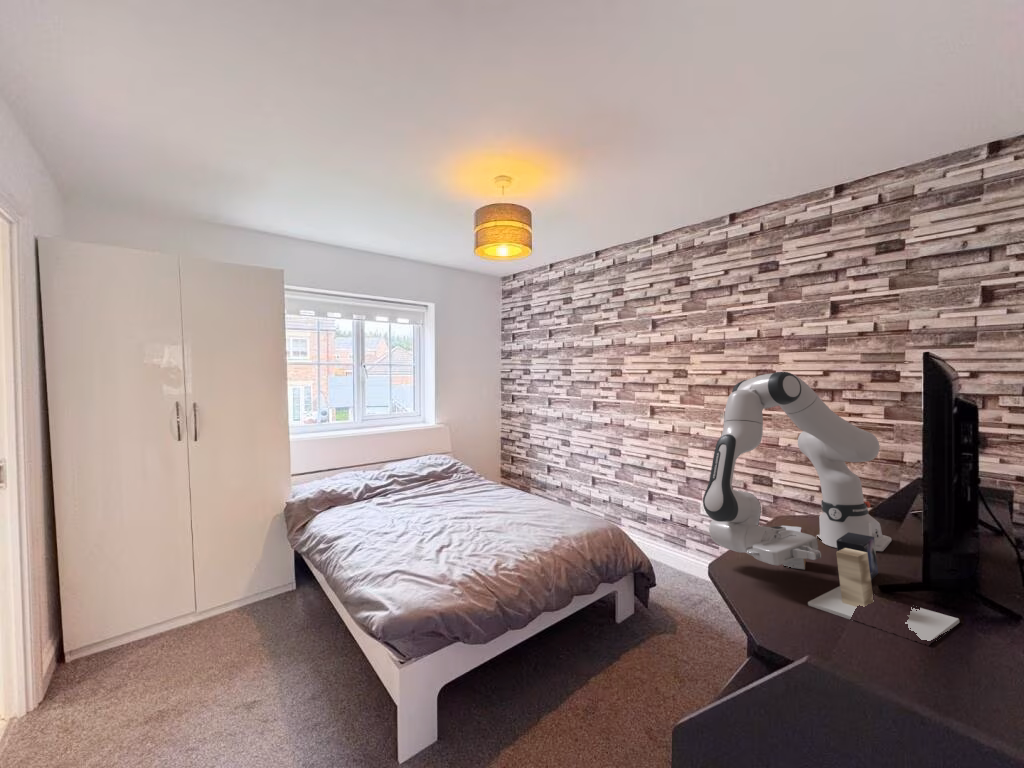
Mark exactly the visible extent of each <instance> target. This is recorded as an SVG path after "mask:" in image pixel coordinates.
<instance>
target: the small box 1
mask: <svg viewBox="0 0 1024 768" xmlns="http://www.w3.org/2000/svg"><path fill="white" fill-rule="evenodd" d="M780 526H781V527H785V528H786V530H793V531H797V532H802V533H803V528H802V526H793V525H792V526H790V525H780ZM806 563H807V559H800V558H796V559H793V560H791V561H788V562H786V563H783V564H782V566H783V565H784V566H788V567H787V568H789V567H791V568H790V569H798V570H806Z"/></svg>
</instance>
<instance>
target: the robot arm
mask: <svg viewBox="0 0 1024 768" xmlns="http://www.w3.org/2000/svg"><path fill="white" fill-rule="evenodd" d="M774 407H780V408H781V410H782V411H783V412H784V413H785V414H786V416H787V417H788V418H789V419H790V420H791V421H792V422H793V424H794V425H795V426H796V427H797V428H798V429H799V430H801V431H802V432H800V433H799V435H798V437H797V446H798V449H799V450H800V452H801V453H802V454H803V455H805V457H807V458H808V459H809V461H810V462H811V464H812V466H813V467H814V470H815V471H816V473H817V475H818V480H819V484H820V491H821V498H822V499H821V501H820V502H821V503H820V505H821V510H822V513H821V514H820V515H819V519H818V520H819V533H818V534H816V536H814V535H812V534H809V533H805V532H803V531H802V532H797V531H793V530H786V528H785V527H781V526H782V525H779V526H778V525H777V526H765V525H762V526H761V525H759V524H760V521H761V515H762V514H761V513H762V505H761V503H760V501H759V498H757V496H756V495H754V494H752V493H750V492H747V491H742V490H736V489H734V488H733V480H734V479H733V478H734V474H735V467H736V466H735V465H736V462H737V459H738V458H739V457H740V456H741V455H743V454H745V453H748V452H751V451H753V450H755V449H757V447H758V446H760V444H761V442H762V439H763V433H764V419H763V418H764V414H763V410H766V409H771V408H774ZM723 415H724V416H723V427H722V428H723V429H722V432H721V436H720V437H719V438H718V439H717V442H716V445H715V448H714V452H713V453H714V454H713V458H712V462H711V463H712V464H711V468H710V469H711V470H710V475H709V480H708V485H707V487H706V489H705V491H704V494H703V498H702V504H703V506H702V507H703V509H704V511H705V513H706V515H708V517H709V518H710V519H711V521H710V522H709V526H708V527H709V528H708V531H709V535H710V538H711V539H712V541H713V542H714V543H716V545H718V546H721V547H722V548H725V549H727V550H730V551H733V552H737V553H746V554H748V555H749V556H752V557H753V559H756V560H757V561H760V562H763V563H765V564H769V565H772V566H781V565H783V563H786V562H788V561H791V560H793V559H796V558H800V559H806V560H811V561H812V560H813V561H816V560H818V559H821V558H822V553H821V551H820V550H819V544H818V539H817V536H818V537H819V538H820V539H821V540H822V541H821V540H820V541H821V542H822V543H823V544H825V545H826V546H829V547H832V548H836V549H837V542H836V540H838V539H839V538H841V537H842V536H844V535H845V534H847V533H848V532H850V533H855V534H861V535H866V536H872V537H874V541H875V550H876V552H884V550H885V549H886V548H887V547H888V546H889V545H890V543H891V542H892V541H893V540H892V537H890V536H887V535H883V533H882V527H881V523H880V522H879V521H878V520H877V519H875V518H874V517H873V516H871V515H870V514H869V513H870V512H869V510H868V508H870V507H871V502H870V501H867V500H866V501H865V500H864V493H863V492H864V491H863V485H862V480H861V479H860V477H859V476H858V475H857V474H856V473H854V472H853V471H852V470H851V469H850V468H849V467H848V465H847V463H846V462H848V463H863V462H870V461H873V460H874V459H876V458H877V456H878V454H879V452H880V448H881V447H880V446H881V445H880V442H879V440H878V438H877V437H876V435H874V433H872V432H869V431H868V430H867V431H866V430H864V429H862V428H860V427H857V426H855V425H854V424H852V423H850V422H849V421H847V420H845V418H843V417H841V416H839V415H838V414H836V413H835V412H834V411H833V410H832V409H831V408H830V407H829V406H828V405H827V404H826V403H825V402H824V401H823V400H822V399H821V398H820V396H819V395H818V394H817V392H815V391H814V389H813V388H811V387H810V385H809V384H807V383H806V382H805V381H804V380H803V379H801V378H800V377H799V376H797V375H796V374H793V373H791V372H788V371H775V372H772V373H766V374H764V373H763V374H760V375H757V376H755V377H752V378H748V379H744V380H741V381H739V382H737V383H736V384H735V385H734V386H733V388H732V391H731V393H730V394H729V395H728V397H727V400H726V404H725V409H724V414H723Z"/></svg>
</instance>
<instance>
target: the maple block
mask: <svg viewBox="0 0 1024 768" xmlns="http://www.w3.org/2000/svg"><path fill="white" fill-rule="evenodd" d="M835 555H836V564H837V570H838V578H839V586H840V588H841V596H842V603H845V604H849V605H852V606H855V607H857V606H859V605H860V606H863V607H865V606H867V605H868V604H871V603H873V602H874V600H873V594H874V593H873V584H872V580H871V576H870V569H869V561H868V553H867V552H863V551H858V550H853V549H849V548H844V549H841V550H839V551H835Z"/></svg>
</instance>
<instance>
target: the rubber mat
mask: <svg viewBox="0 0 1024 768" xmlns="http://www.w3.org/2000/svg"><path fill="white" fill-rule="evenodd" d="M807 605H808V607H812V608H815V609H818V610H821V611H824V612H826V613H830V614H833V615H836V616H839V617H842V618H844V619H847V620H850V619H851V617H852V615H853V613H854V611H855V609H856V608H857V607H855V606H852V605H849V604H845V603H842V596H841V588H840V585H839V586H837V587H835V588H833V589H831V590H829V591H827V592H825V593H823V594H821V595H819V596H817V597H815V598H814V599H811V600H809V601H807ZM911 610H912V611H910V615H907V616H908V617H909V619H908V620H907V622H905V624H908V628H909V630H911V631H914V632H915V633H917V634H916V635H917V636H918V637H919V638H920V639H921V640H927V641H931V640H933V639H935V638H937V637H938V636H939V635H941V634H943V633H945V632H947V631H948V632H950V631H951V630H952V629H953V628H954V627H956V626H957V625H958V624H959V623H960V618H958V617H954V616H950V615H947V614H945V613H944V614H943V613H940V612H938V611H937V612H936V611H933V610H929V609H926V608H923V607H920V610H919V609H915V608H913V609H912V607H911ZM916 610H917V611H916ZM910 628H911V629H910ZM950 629H951V630H950ZM948 632H947V633H948ZM945 634H946V633H945Z"/></svg>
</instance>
